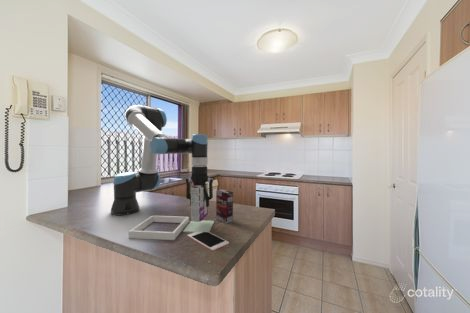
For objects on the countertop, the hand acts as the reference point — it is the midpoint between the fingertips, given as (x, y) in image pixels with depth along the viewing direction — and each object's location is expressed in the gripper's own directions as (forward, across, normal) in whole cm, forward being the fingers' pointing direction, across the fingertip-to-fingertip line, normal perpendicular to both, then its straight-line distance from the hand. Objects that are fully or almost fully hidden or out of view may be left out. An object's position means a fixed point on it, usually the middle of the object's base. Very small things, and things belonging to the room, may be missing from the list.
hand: (199, 213), depth 97 cm
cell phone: (+7, +7, -13) cm, 17 cm away
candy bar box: (+2, 0, 0) cm, 2 cm away
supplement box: (+7, +11, +10) cm, 16 cm away
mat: (+7, 0, 0) cm, 7 cm away
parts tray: (+7, -17, -5) cm, 19 cm away
